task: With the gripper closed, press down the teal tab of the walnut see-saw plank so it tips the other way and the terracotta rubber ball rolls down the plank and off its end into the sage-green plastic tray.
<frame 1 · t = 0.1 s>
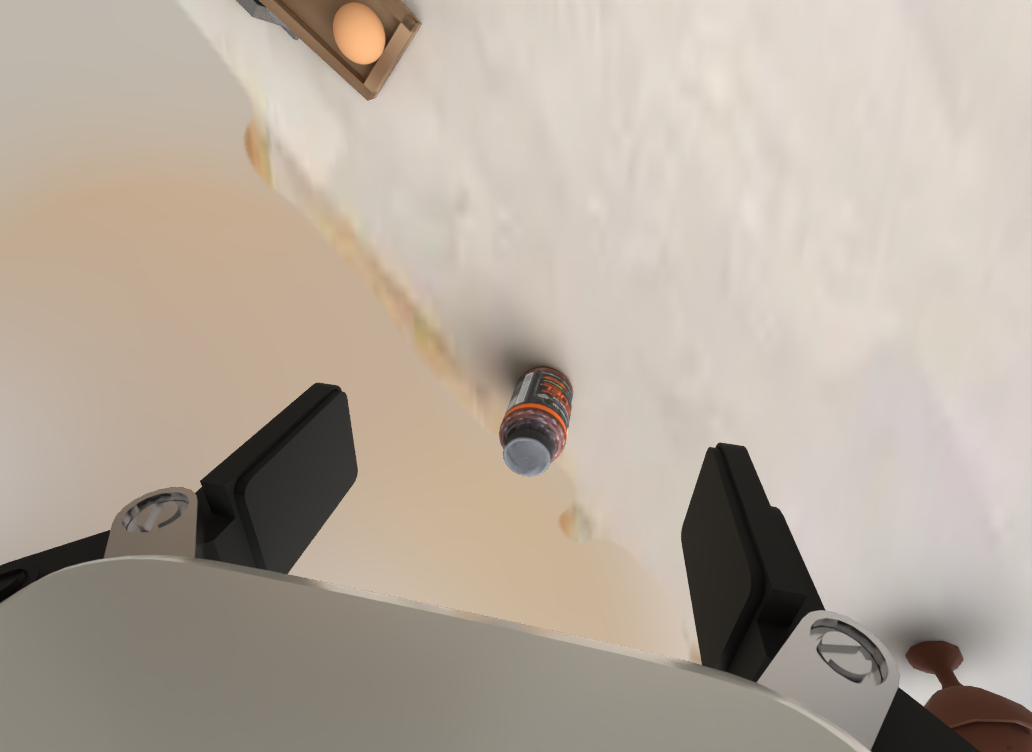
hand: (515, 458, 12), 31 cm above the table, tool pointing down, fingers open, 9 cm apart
ice cream bowl: (932, 653, 54), on the table
supplement bottle: (545, 389, 47), on the table
ball: (359, 34, 32), point 3 cm above the table, tilted 5°, touching lever
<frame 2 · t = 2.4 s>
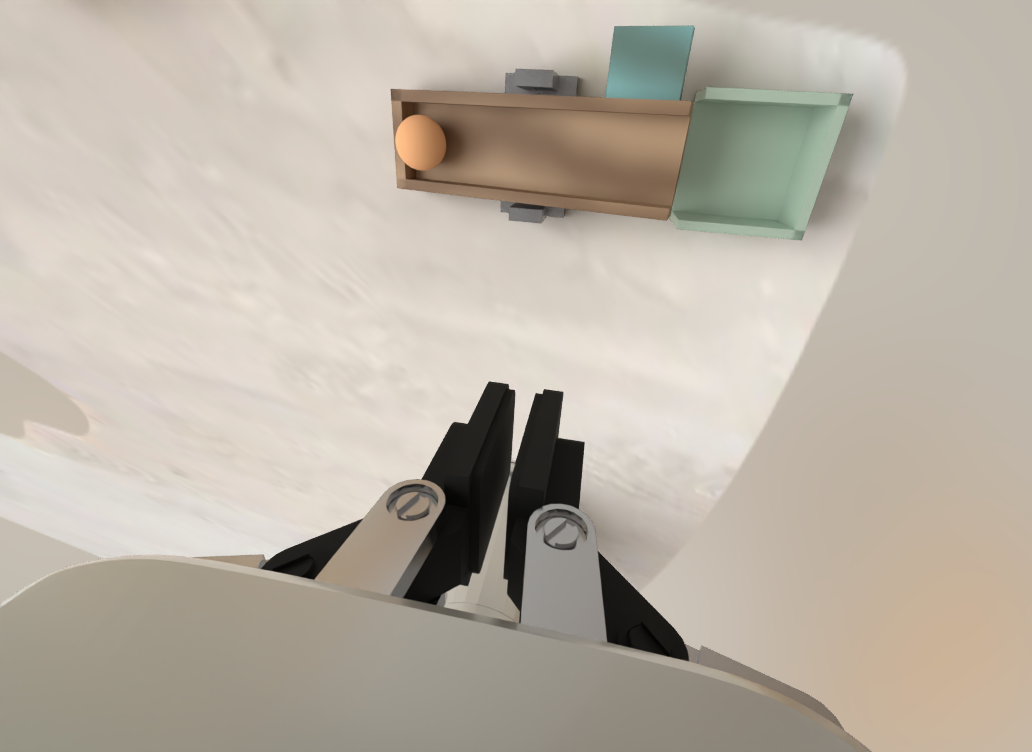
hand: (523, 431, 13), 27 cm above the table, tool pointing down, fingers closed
tray: (741, 163, 32), on the table
lever: (529, 120, 30), point 3 cm above the table, hinge at -12.0°, touching ball
fulcrum: (537, 149, 34), on the table
ball: (421, 143, 32), point 3 cm above the table, tilted 5°, touching lever
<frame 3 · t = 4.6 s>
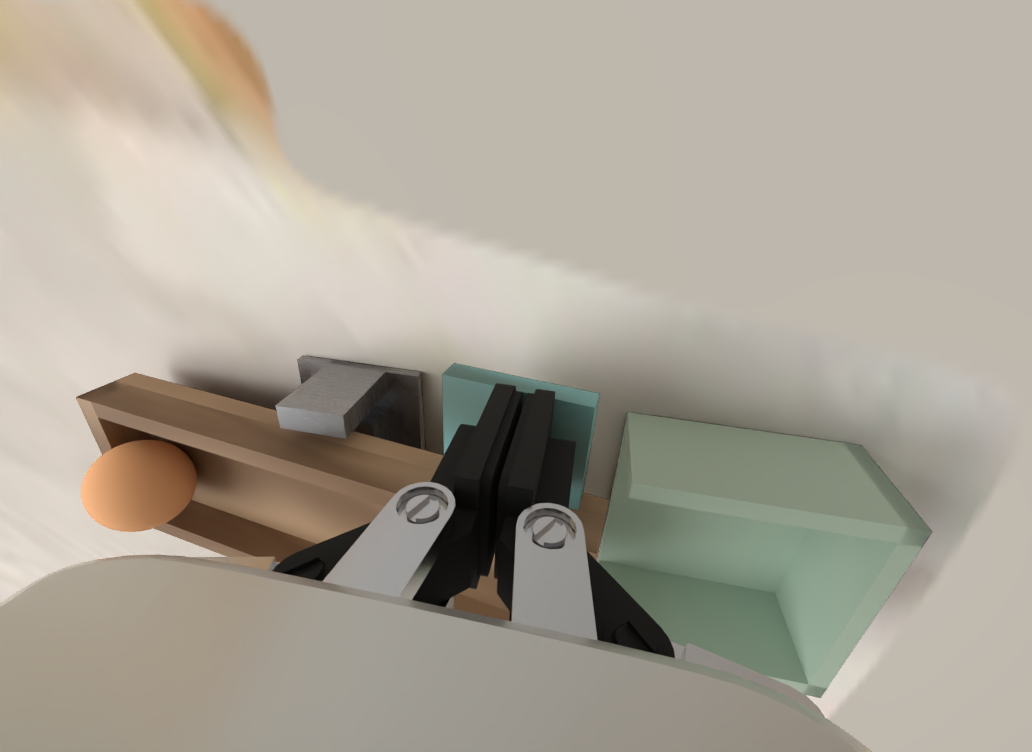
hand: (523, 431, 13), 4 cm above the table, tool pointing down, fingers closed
tray: (711, 512, 18), on the table
lever: (320, 474, 16), point 3 cm above the table, hinge at -8.2°, touching ball, gripper
fulcrum: (371, 456, 20), on the table
ball: (142, 484, 18), point 4 cm above the table, touching lever
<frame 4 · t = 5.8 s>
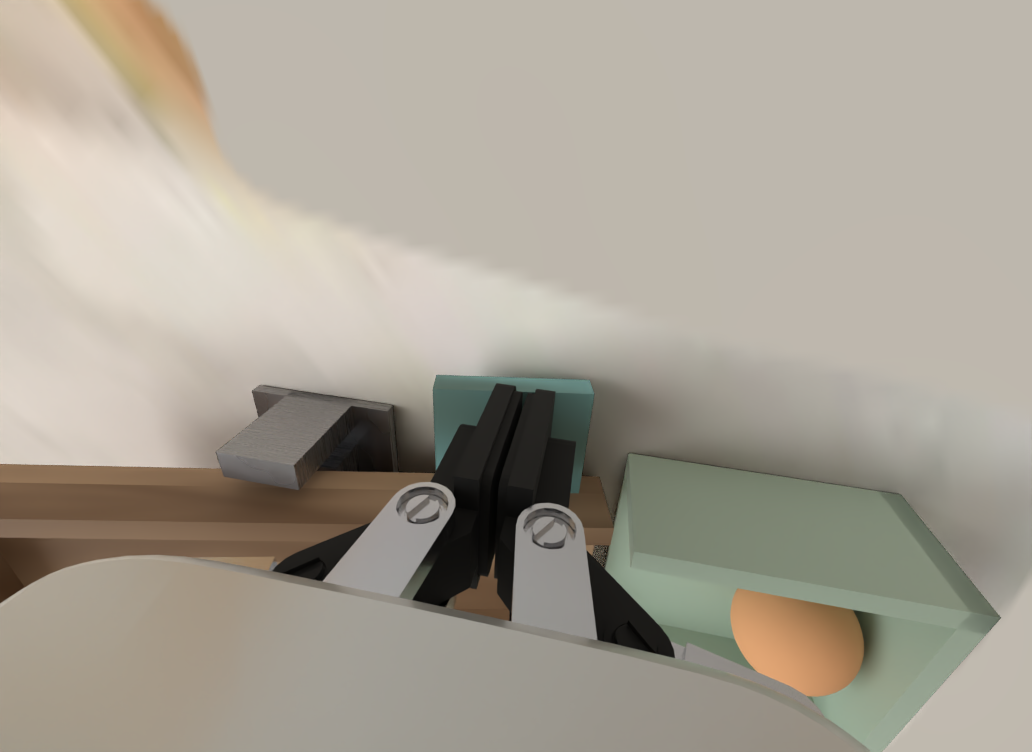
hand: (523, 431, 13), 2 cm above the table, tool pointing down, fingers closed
tray: (723, 563, 16), on the table
lever: (280, 528, 14), point 3 cm above the table, hinge at 12.2°, touching gripper
fulcrum: (341, 494, 18), on the table
ball: (792, 627, 14), point 2 cm above the table, tilted 104°, touching tray
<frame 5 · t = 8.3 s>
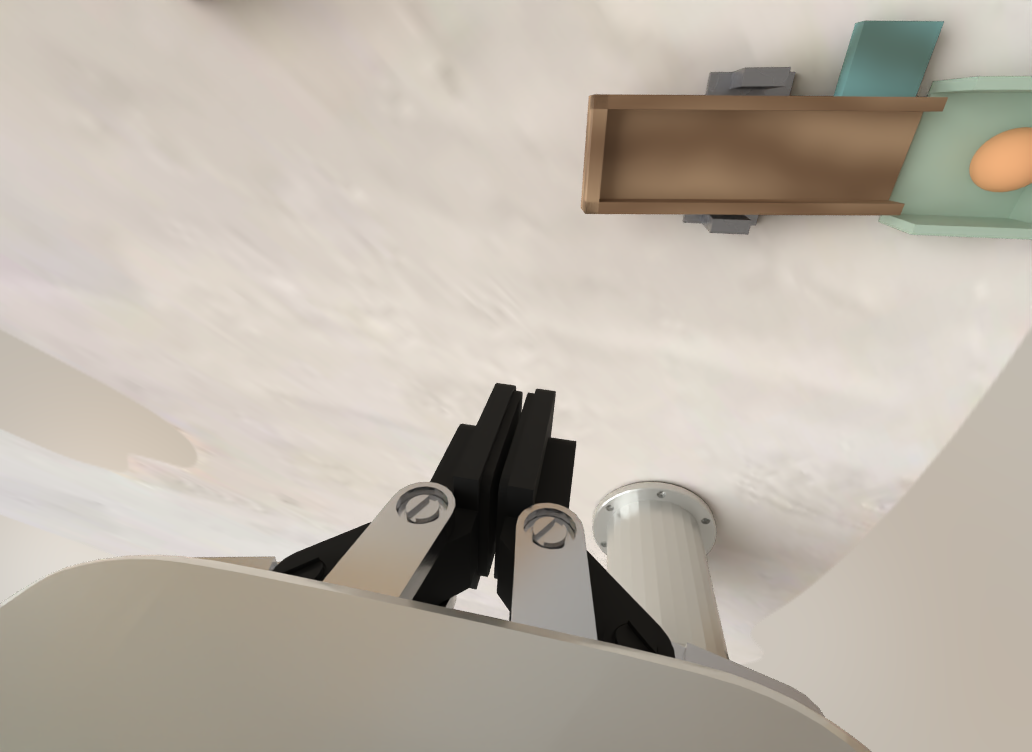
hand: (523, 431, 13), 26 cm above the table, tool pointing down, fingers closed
tray: (973, 157, 29), on the table
lever: (756, 123, 27), point 3 cm above the table, hinge at 10.5°
fulcrum: (733, 153, 31), on the table
ball: (1010, 160, 27), point 2 cm above the table, tilted 74°, touching tray
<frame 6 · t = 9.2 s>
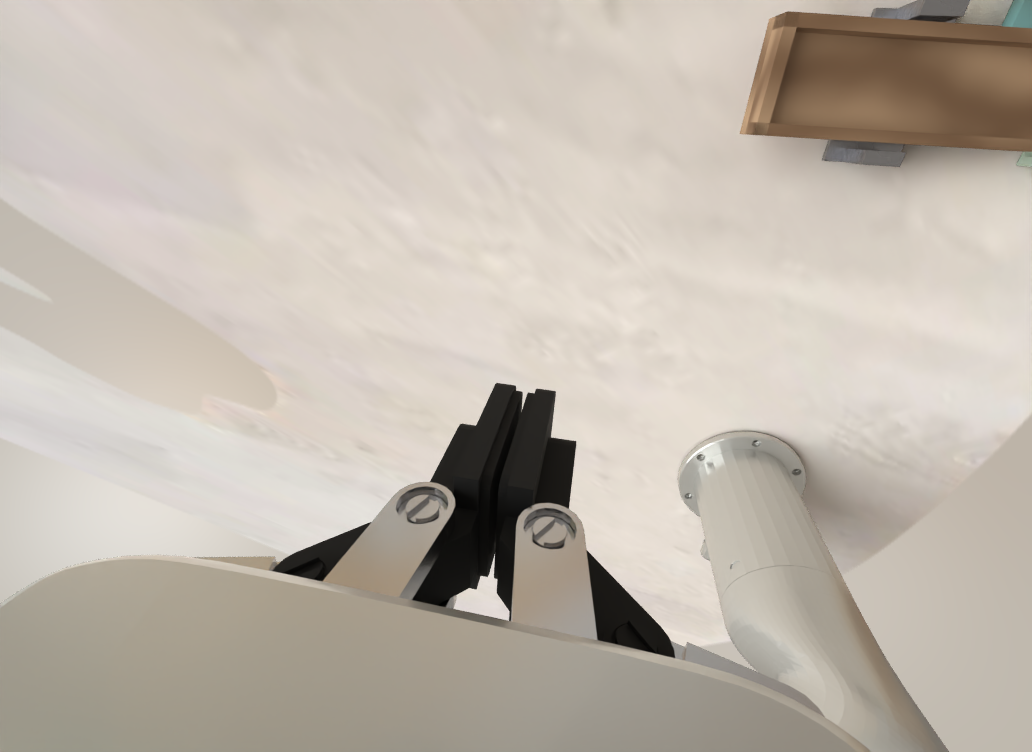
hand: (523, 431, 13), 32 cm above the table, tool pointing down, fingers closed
lever: (927, 54, 29), point 3 cm above the table, hinge at 10.5°
fulcrum: (883, 91, 33), on the table
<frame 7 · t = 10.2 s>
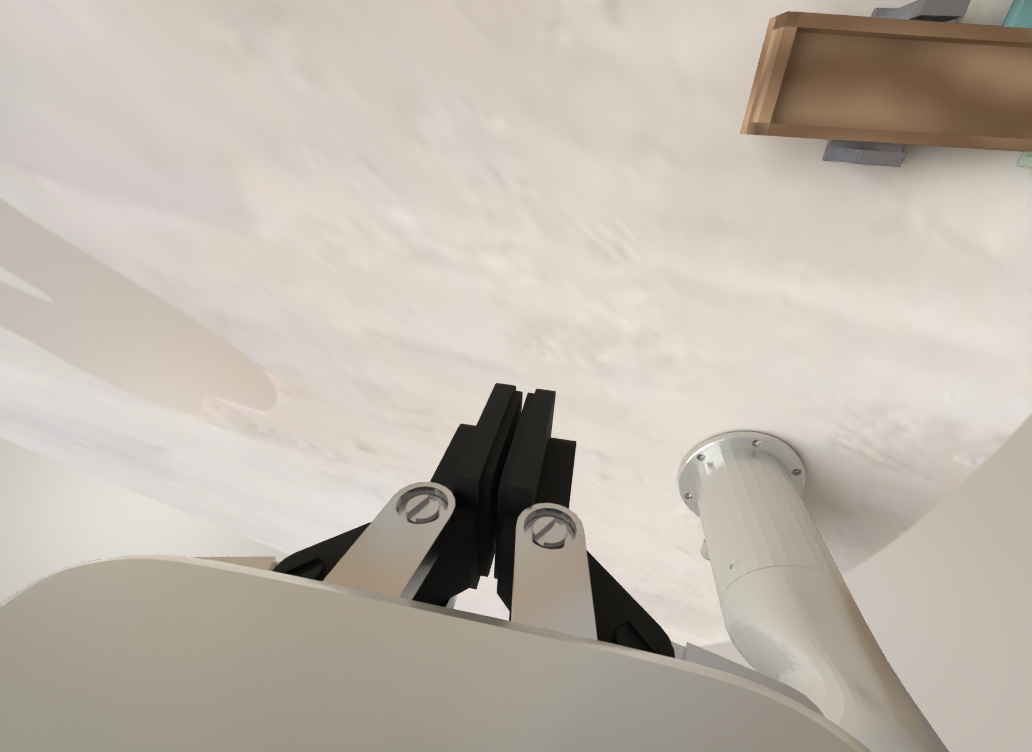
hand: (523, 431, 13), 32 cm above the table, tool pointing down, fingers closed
lever: (927, 54, 29), point 3 cm above the table, hinge at 10.5°
fulcrum: (884, 91, 33), on the table
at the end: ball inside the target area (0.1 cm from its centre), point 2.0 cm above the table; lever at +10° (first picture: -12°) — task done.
